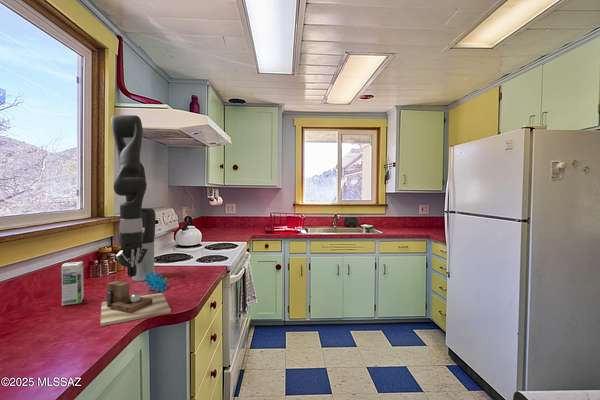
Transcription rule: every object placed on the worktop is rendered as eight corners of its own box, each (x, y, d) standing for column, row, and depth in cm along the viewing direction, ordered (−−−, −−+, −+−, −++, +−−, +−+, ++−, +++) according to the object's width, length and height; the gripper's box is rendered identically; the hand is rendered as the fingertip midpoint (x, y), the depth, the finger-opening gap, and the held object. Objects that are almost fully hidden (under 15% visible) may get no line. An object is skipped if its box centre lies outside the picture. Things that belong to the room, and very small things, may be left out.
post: (130, 305, 105) (130, 294, 105) (139, 303, 107) (139, 292, 107) (130, 308, 103) (130, 296, 102) (140, 306, 104) (140, 295, 104)
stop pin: (106, 305, 104) (106, 291, 104) (112, 305, 105) (112, 291, 105) (106, 307, 103) (106, 293, 103) (112, 306, 104) (112, 292, 104)
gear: (153, 292, 117) (142, 272, 120) (144, 301, 118) (133, 281, 121) (174, 287, 127) (163, 269, 131) (165, 296, 128) (155, 278, 132)
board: (101, 305, 108) (101, 302, 108) (162, 295, 119) (162, 292, 118) (100, 326, 91) (100, 323, 91) (170, 312, 102) (170, 309, 102)
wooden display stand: (152, 303, 107) (152, 283, 107) (130, 313, 98) (130, 290, 98) (122, 298, 112) (122, 278, 111) (99, 307, 103) (99, 285, 103)
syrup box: (61, 306, 106) (60, 265, 106) (65, 300, 112) (64, 262, 111) (80, 303, 109) (80, 264, 109) (83, 298, 114) (83, 260, 114)
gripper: (138, 227, 118) (138, 270, 119) (107, 232, 106) (108, 280, 107) (153, 228, 116) (153, 272, 117) (123, 233, 103) (124, 282, 104)
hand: (132, 276), depth 112 cm, fingers closed
